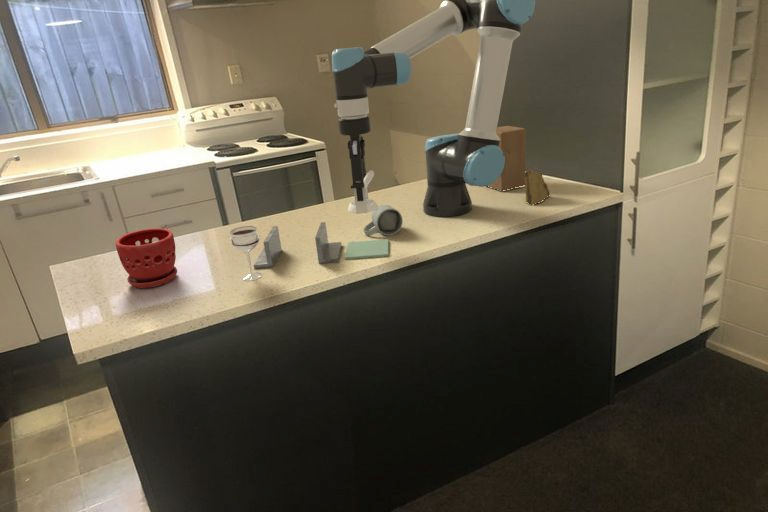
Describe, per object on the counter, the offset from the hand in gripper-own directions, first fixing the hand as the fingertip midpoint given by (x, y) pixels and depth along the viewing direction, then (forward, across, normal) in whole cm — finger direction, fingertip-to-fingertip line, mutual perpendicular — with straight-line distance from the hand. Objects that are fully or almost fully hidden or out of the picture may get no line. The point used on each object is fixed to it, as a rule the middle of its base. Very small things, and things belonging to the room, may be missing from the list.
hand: (362, 207), depth 137 cm
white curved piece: (0, 0, 0) cm, 0 cm away
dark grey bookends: (+12, +1, -18) cm, 21 cm away
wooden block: (+12, -51, +46) cm, 70 cm away
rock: (+12, -32, +53) cm, 63 cm away
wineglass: (+12, +12, -28) cm, 33 cm away
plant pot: (+12, +10, -53) cm, 55 cm away
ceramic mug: (+12, -14, +4) cm, 19 cm away
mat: (+12, 0, 0) cm, 12 cm away
